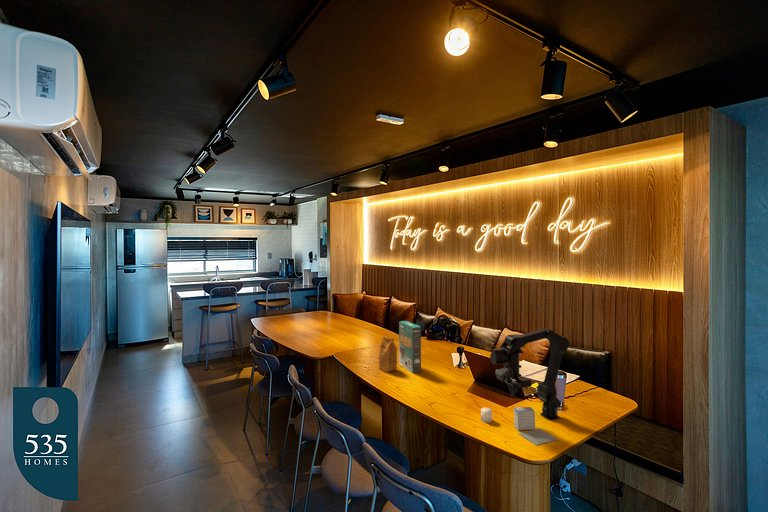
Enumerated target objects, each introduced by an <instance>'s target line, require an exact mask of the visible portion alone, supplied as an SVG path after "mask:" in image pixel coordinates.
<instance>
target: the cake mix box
mask: <svg viewBox="0 0 768 512" xmlns="http://www.w3.org/2000/svg"><path fill="white" fill-rule="evenodd" d="M398 329H399V330H398V364H399V365H401V367H403V368H404V369H406V370H407V371H409V372H410V373H411V374H419V373H422V327H421V326H420V325H418V324H415V323H413V322H411V321H408V320H401V321H399V322H398Z"/></svg>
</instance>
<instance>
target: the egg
mask: <svg viewBox="0 0 768 512" xmlns="http://www.w3.org/2000/svg"><path fill="white" fill-rule="evenodd" d="M480 421H481V422H482V423H486V424H487V423H488V424H489V423H492V422H493V409H492V408H489V407H481V408H480Z"/></svg>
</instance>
